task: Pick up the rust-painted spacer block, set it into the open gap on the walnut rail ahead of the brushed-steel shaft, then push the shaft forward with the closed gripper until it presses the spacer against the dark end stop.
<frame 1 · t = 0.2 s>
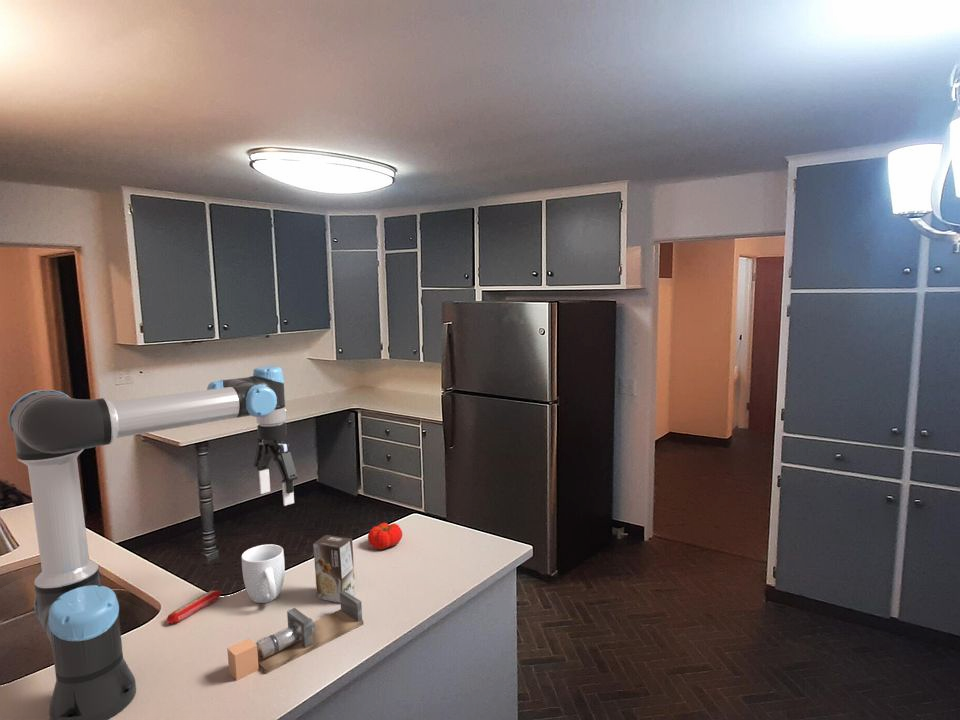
hand: (276, 498, 163), 28 cm above the counter, fingers open, 13 cm apart
spacer: (244, 671, 132), on the counter
shaft: (286, 637, 139), point 3 cm above the counter, slide at 0.0 cm
mug: (266, 599, 163), on the counter
coffee box: (336, 596, 164), on the counter
rail: (308, 639, 143), on the counter
candy bar: (194, 612, 158), on the counter
tomato: (385, 545, 196), on the counter
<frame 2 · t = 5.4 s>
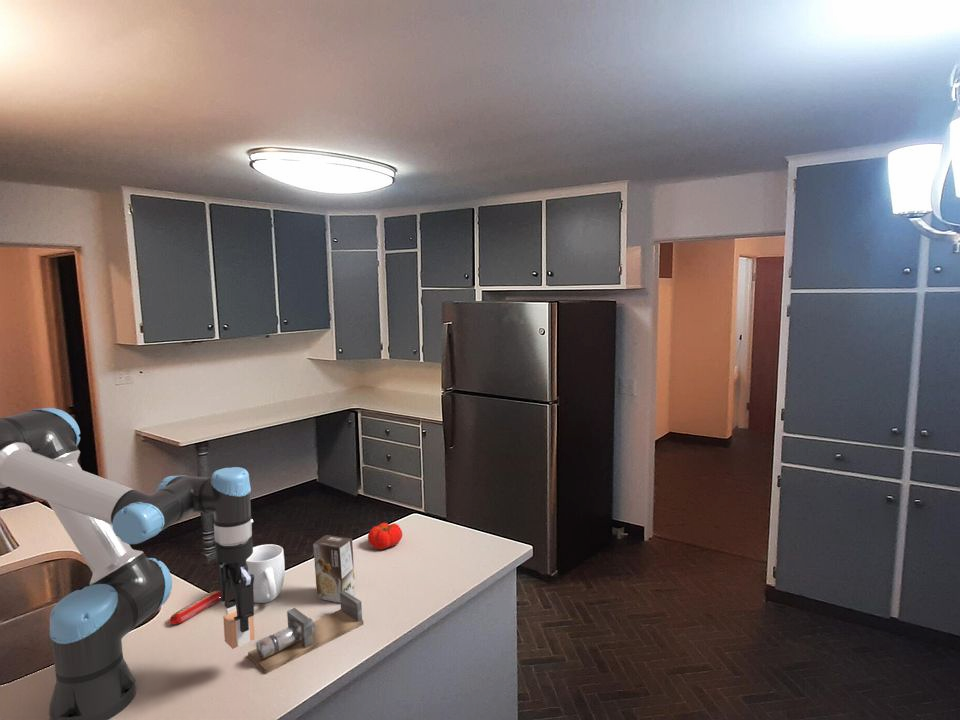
hand: (238, 638, 131), 8 cm above the counter, fingers closed on spacer, 4 cm apart
spacer: (239, 640, 131), point 7 cm above the counter, touching gripper
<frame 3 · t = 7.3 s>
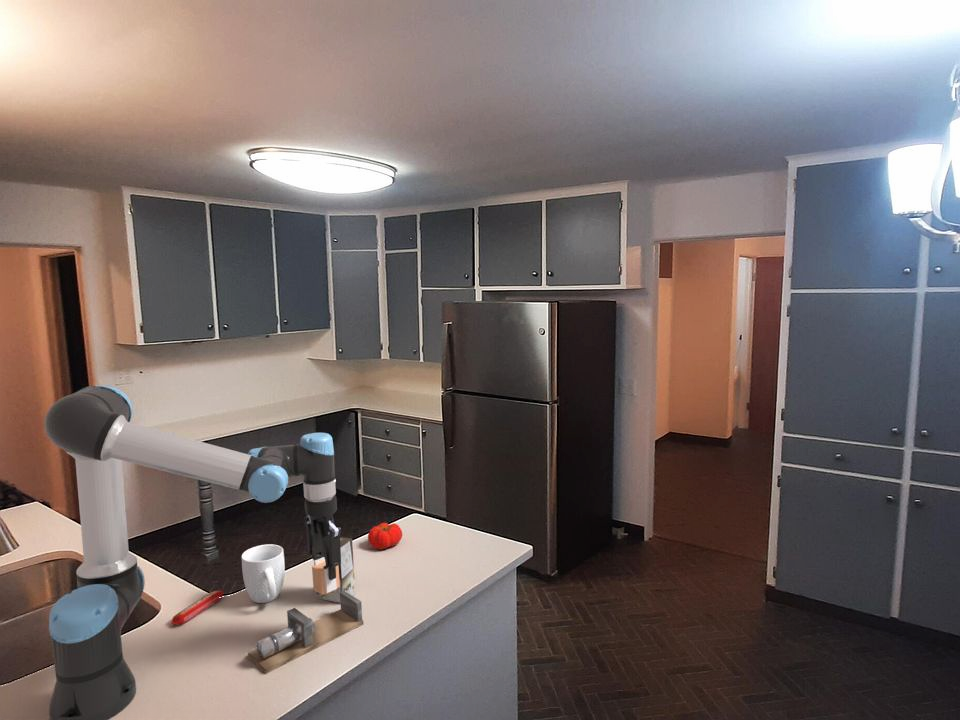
hand: (326, 587, 146), 11 cm above the counter, fingers closed on spacer, 4 cm apart
spacer: (326, 588, 146), point 11 cm above the counter, touching gripper
when the fingers open (1 cm above the counter, at t = 9.6 s): spacer stays where it is, resting on rail.
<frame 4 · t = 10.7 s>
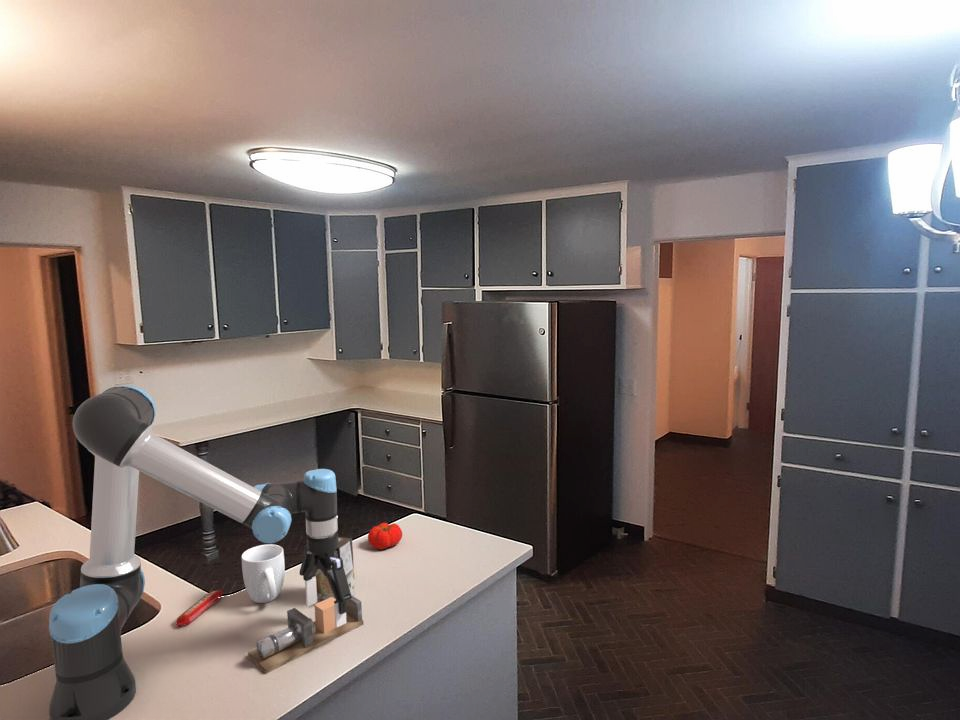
hand: (325, 614, 147), 4 cm above the counter, fingers open, 13 cm apart
spacer: (328, 625, 147), point 1 cm above the counter, touching rail
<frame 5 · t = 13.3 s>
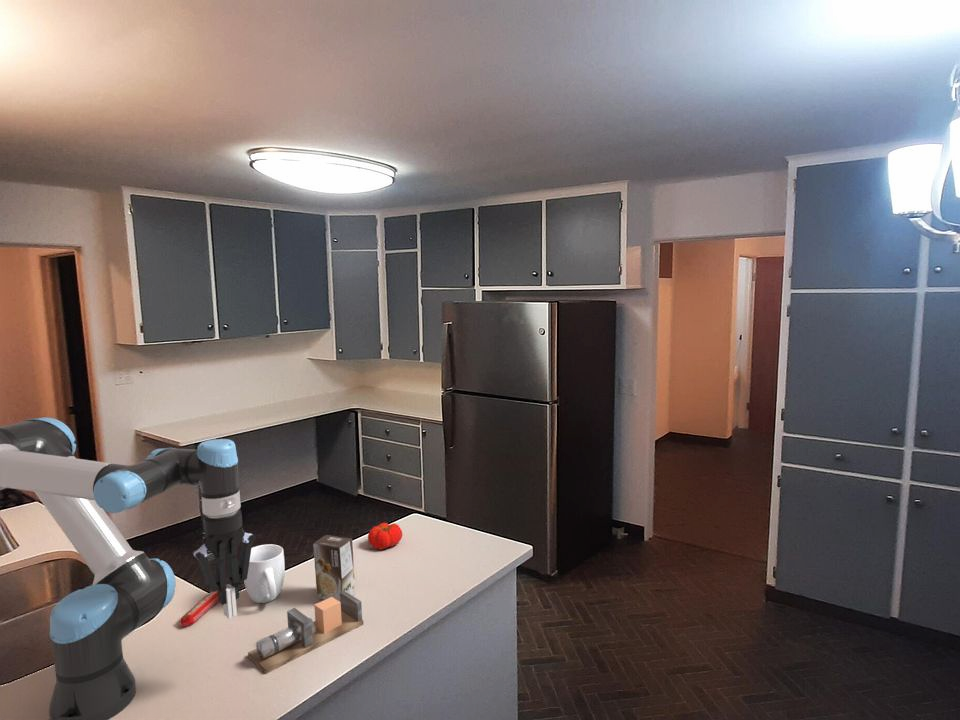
hand: (230, 614, 129), 14 cm above the counter, fingers closed
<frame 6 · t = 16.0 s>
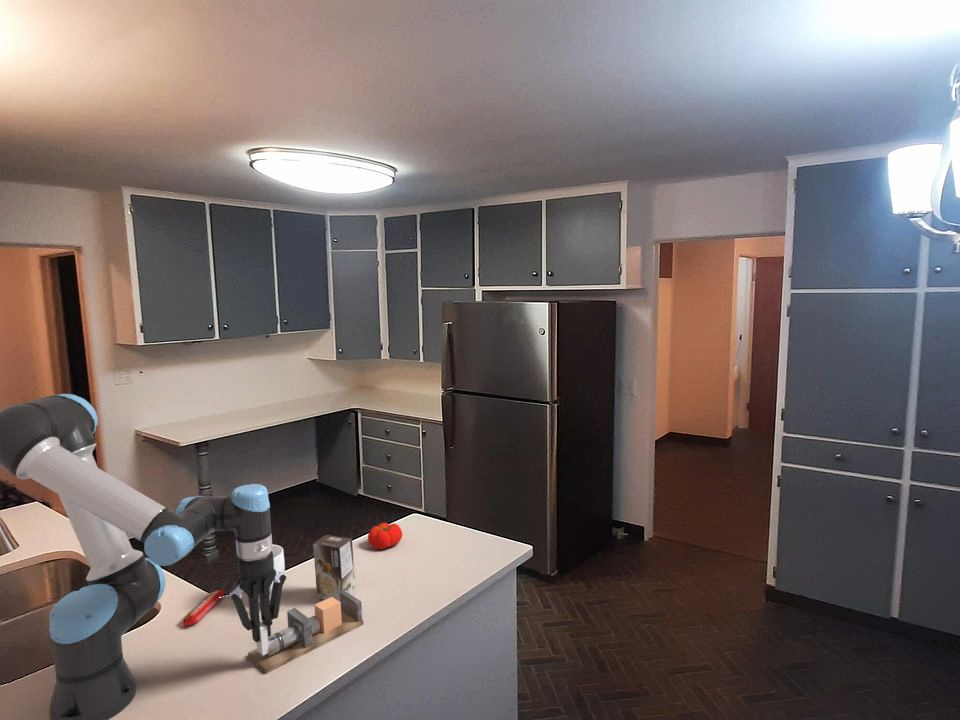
hand: (263, 651, 135), 3 cm above the counter, fingers closed
shaft: (291, 635, 140), point 3 cm above the counter, slide at 1.3 cm, touching gripper
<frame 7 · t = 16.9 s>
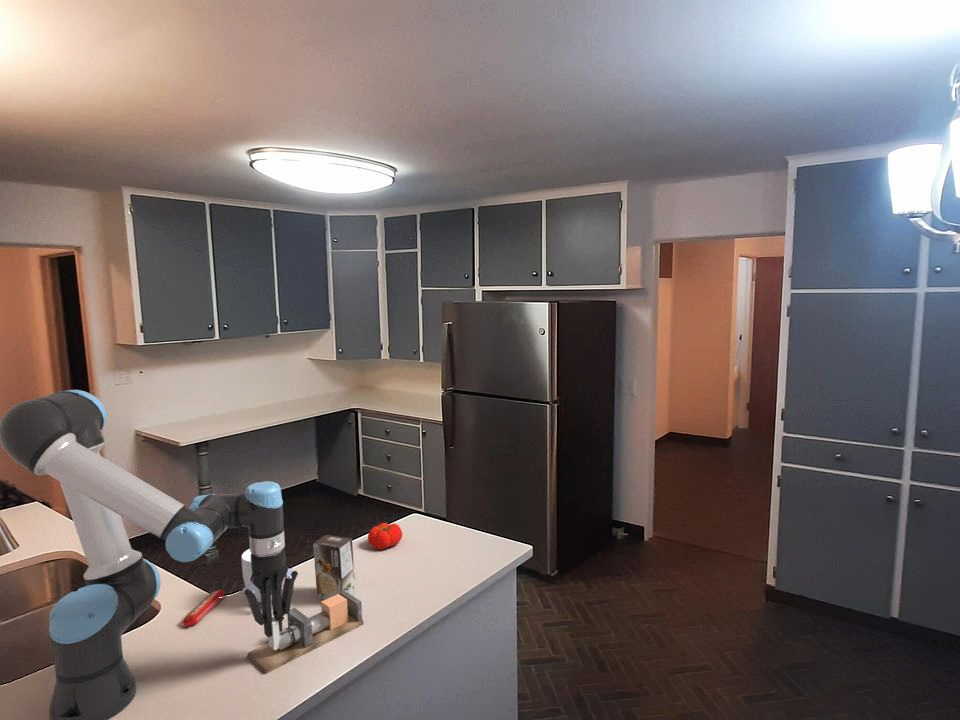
hand: (274, 646, 137), 2 cm above the counter, fingers closed
spacer: (335, 622, 149), point 1 cm above the counter, touching rail, shaft
shaft: (302, 630, 142), point 3 cm above the counter, slide at 4.1 cm, touching gripper, spacer
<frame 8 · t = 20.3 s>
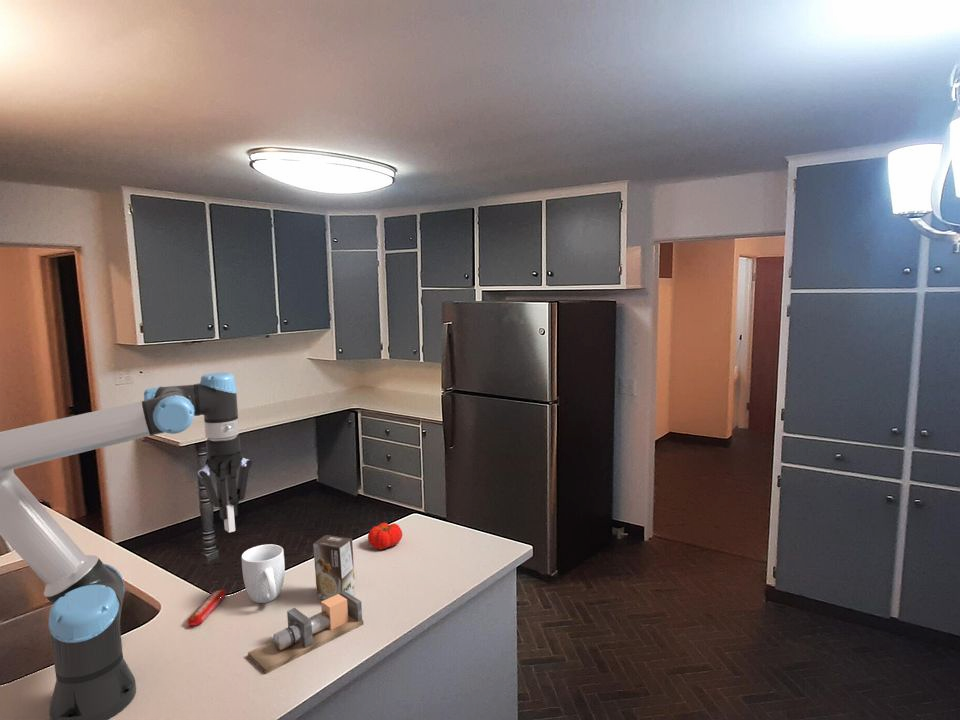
hand: (230, 530, 145), 26 cm above the counter, fingers closed
shaft: (302, 630, 142), point 3 cm above the counter, slide at 4.1 cm, touching spacer
at the end: shaft slide at 4.1 cm; spacer 0.9 cm from the target spot on the rail, point 1.0 cm above the rail's base; spacer tilted 0° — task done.
